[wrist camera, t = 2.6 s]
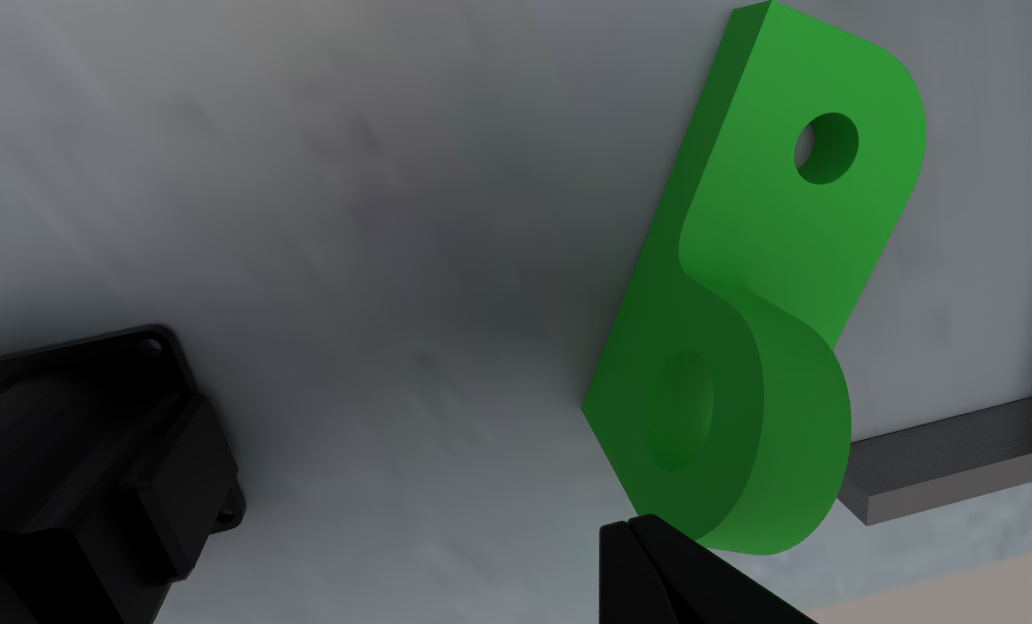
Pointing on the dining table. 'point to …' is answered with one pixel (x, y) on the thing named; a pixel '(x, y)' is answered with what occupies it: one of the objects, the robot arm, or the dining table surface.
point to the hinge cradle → (939, 463)
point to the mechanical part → (757, 285)
